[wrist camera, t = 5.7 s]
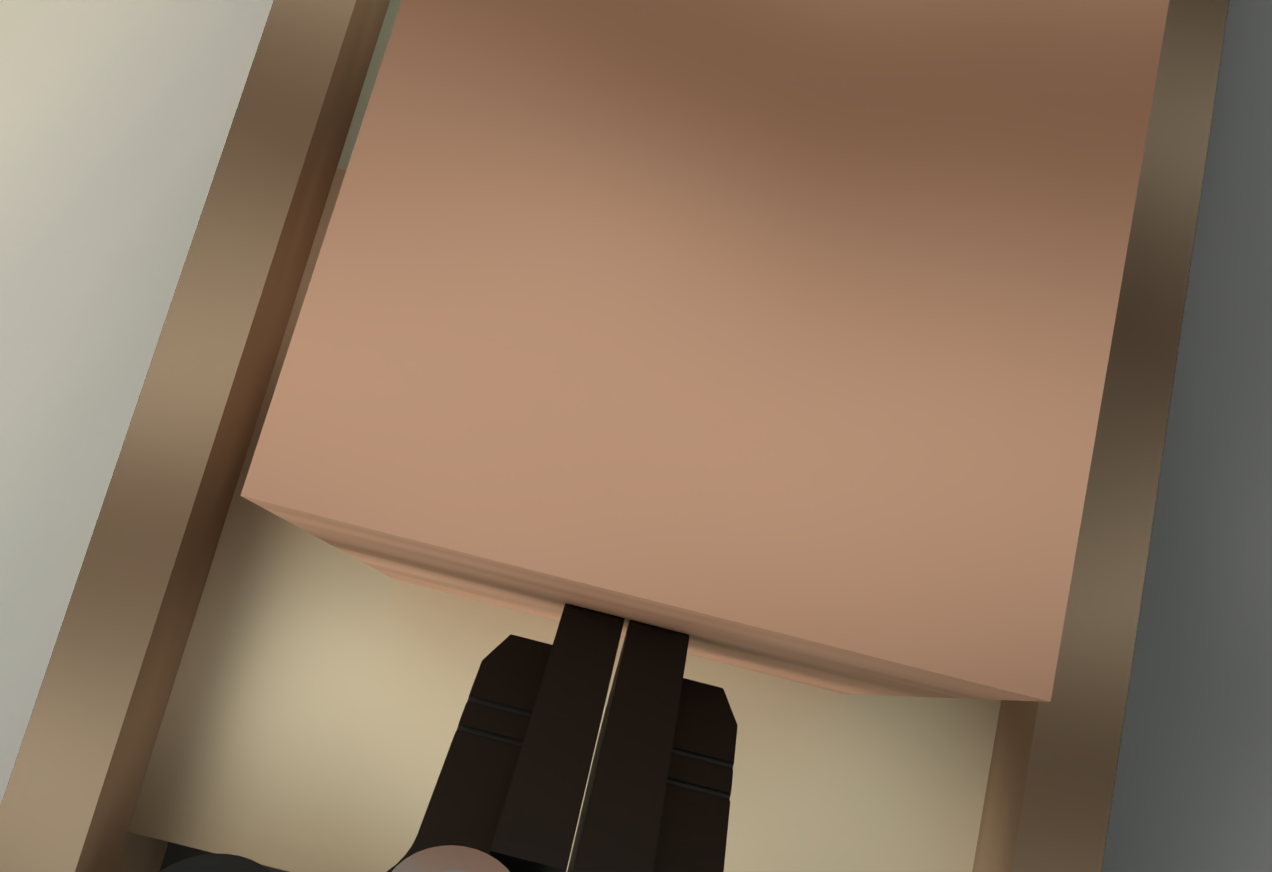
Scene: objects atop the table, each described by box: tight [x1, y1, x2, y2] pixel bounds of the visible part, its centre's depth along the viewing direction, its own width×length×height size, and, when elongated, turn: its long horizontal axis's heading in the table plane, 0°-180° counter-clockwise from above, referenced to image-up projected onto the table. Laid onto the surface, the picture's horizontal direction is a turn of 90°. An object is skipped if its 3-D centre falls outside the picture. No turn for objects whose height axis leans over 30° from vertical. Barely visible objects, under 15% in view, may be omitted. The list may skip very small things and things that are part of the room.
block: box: [241, 0, 1169, 702], centre depth 15 cm, size 10×7×8 cm
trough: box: [0, 0, 1229, 872], centre depth 20 cm, size 33×14×4 cm, turn 167°
